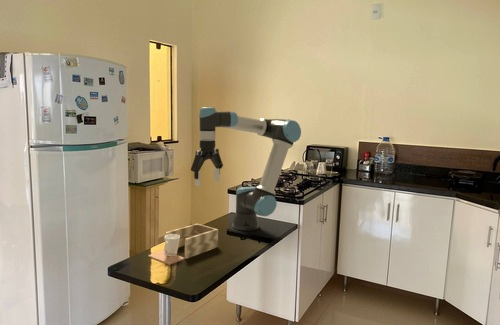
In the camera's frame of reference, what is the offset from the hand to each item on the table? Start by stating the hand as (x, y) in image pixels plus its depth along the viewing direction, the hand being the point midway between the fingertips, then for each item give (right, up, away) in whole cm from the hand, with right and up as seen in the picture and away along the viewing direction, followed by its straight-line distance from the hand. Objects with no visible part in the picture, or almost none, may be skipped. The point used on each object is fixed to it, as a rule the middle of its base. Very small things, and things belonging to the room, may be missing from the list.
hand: (207, 183), depth 187 cm
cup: (-14, -30, -19) cm, 39 cm away
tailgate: (-13, -31, -17) cm, 38 cm away
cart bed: (-6, -31, -8) cm, 33 cm away
